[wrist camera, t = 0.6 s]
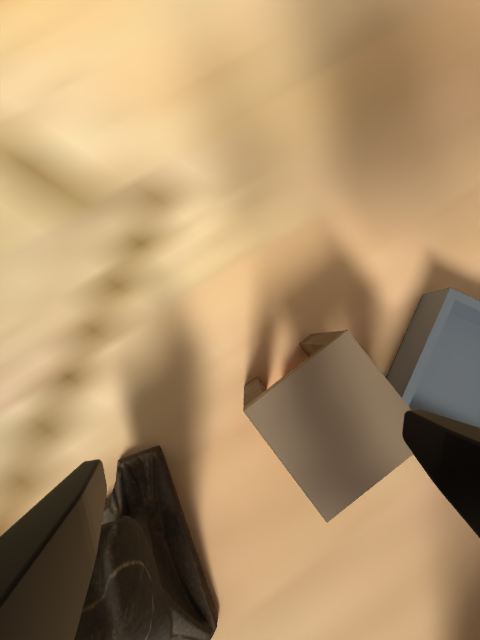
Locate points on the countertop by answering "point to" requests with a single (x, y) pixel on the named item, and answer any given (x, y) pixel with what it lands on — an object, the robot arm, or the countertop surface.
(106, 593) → the sculpture
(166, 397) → the countertop surface
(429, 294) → the tray
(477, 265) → the countertop surface
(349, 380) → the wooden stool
